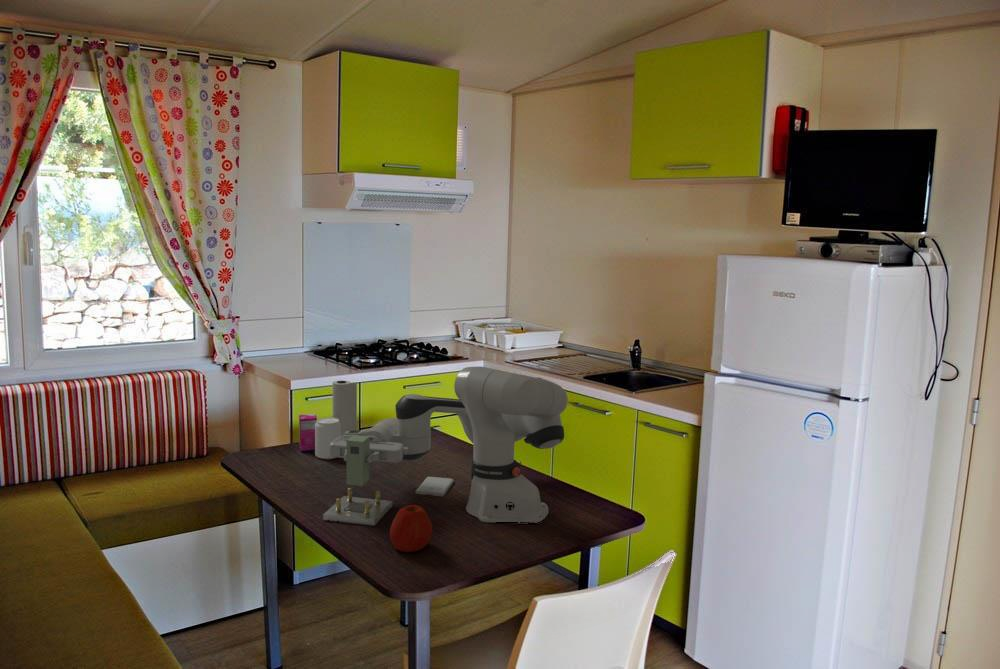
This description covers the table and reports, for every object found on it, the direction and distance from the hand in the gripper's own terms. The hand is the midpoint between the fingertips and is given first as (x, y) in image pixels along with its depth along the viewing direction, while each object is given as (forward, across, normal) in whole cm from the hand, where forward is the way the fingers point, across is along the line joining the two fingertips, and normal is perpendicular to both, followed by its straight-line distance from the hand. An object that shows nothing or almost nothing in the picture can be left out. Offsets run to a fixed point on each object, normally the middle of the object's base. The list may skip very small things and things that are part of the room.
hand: (356, 459), depth 214 cm
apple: (+16, -20, -16) cm, 30 cm away
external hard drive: (-25, -14, -16) cm, 33 cm away
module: (-1, 0, -7) cm, 7 cm away
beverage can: (-44, +27, -15) cm, 54 cm away
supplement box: (-49, +36, -15) cm, 62 cm away
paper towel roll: (-59, +28, -15) cm, 67 cm away
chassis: (-1, 0, -15) cm, 15 cm away
